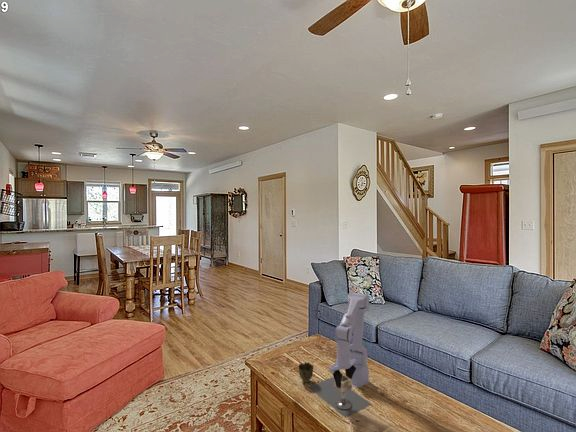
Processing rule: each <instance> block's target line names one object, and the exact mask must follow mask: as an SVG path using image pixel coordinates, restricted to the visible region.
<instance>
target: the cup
mask: <svg viewBox="0 0 576 432" xmlns="http://www.w3.org/2000/svg"><path fill="white" fill-rule="evenodd" d="M298 373H299V377H300V379H302V380H301V381H302V382H303V383H304V384H308V383H309V382H310V380H311V379H312V377H313V374H314V365H313V364H312V363H310V362H304V363H303V362H300V363H299V364H298Z"/></svg>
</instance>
